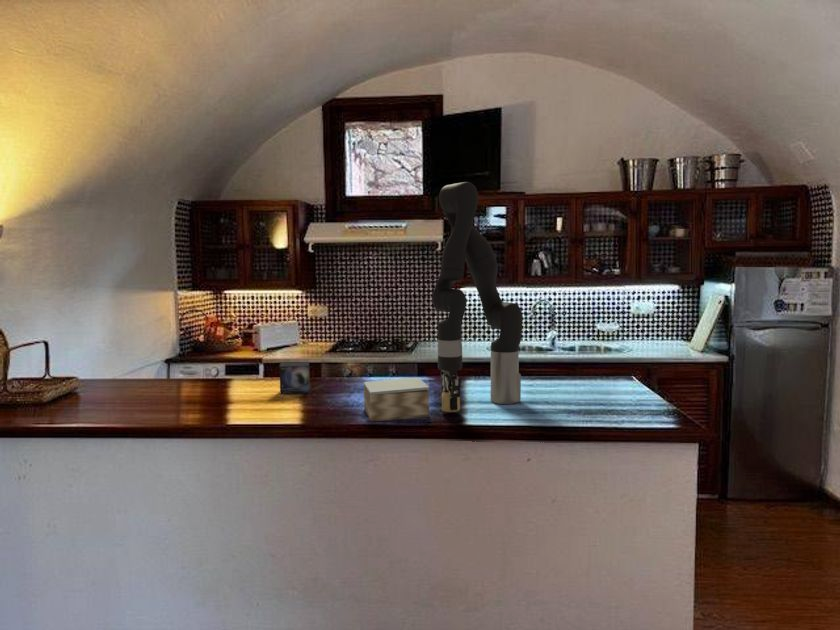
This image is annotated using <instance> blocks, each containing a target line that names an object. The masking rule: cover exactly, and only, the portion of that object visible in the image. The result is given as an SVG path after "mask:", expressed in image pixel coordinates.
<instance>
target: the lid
mask: <svg viewBox="0 0 840 630" xmlns="http://www.w3.org/2000/svg"><path fill="white" fill-rule="evenodd" d="M364 386H365V387H366V389H367V390H368V392H369V394H370V395H376V394H387V393H398V392H409V391H420V390H428V391H430V386H429V385H428V384H427V383H425V382H424V381H423V380H422V379H421V378H420V377H417V376H416V377H408V378H407V377H406V378H396V379H395V378H394V379H385V380H372V381H364V382H363V387H364Z"/></svg>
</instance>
